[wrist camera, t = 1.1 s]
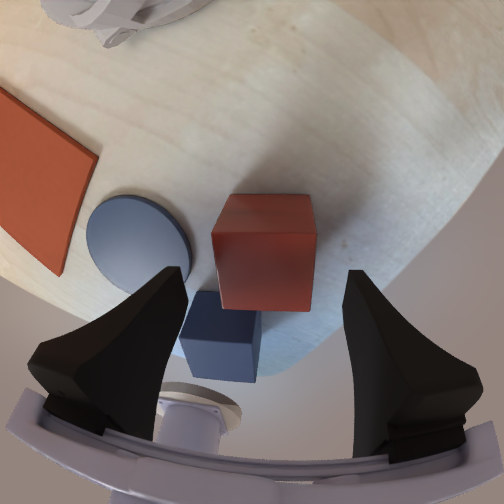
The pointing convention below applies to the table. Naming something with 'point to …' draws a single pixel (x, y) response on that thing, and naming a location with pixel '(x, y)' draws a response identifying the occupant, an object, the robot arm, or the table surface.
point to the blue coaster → (135, 241)
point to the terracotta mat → (40, 182)
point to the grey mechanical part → (118, 15)
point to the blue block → (221, 340)
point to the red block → (265, 252)
